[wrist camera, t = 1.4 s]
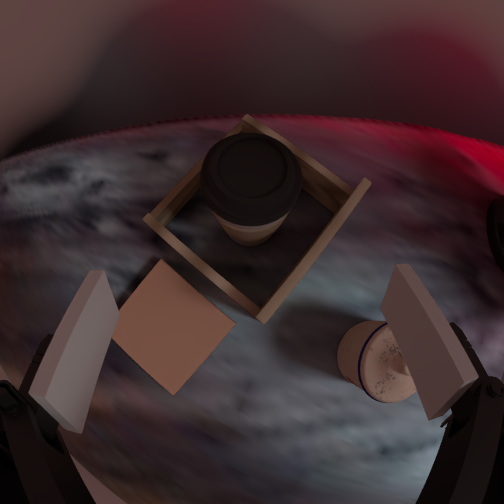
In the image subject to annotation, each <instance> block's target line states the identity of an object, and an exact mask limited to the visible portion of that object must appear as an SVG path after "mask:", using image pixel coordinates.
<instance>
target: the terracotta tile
mask: <svg viewBox="0 0 504 504" xmlns="http://www.w3.org/2000/svg"><path fill="white" fill-rule="evenodd" d="M119 313H120V316H119V319H118V321H117V324H116V327H115V329H114V332H113V335H112V339H113V340H114V341H115V342H116V343H117V344H118V345H119V346H120V347H121V348H122V349H123V350H124V351H125V352H126V353H127V354H128V355H129V356H130V357H131V358H132V359H133V360H134V361H135V362H137V363H138V364H139V365H140V366H141V367H142V368H143V369H144V370H145V371H146V372H147V373H148V374H149V375H150V376H152V377H153V378H154V379H155V380H156V381H157V382H158V383H159V384H161V385H162V386H163V387H164V388H165V389H166V390H167V391H169V392H170V393H171V394H172V395H173V396H174V395H175V394H176V392H177V391H178V390H179V389H180V388H181V387H182V386H183V385H184V383H185V382H186V381H187V380H188V379H189V378H190V377H191V375H192V374H193V373H194V372H195V371H196V370H197V369H198V367H199V366H200V365H201V364H202V363H203V362H204V361H205V359H206V358H207V357H208V356H209V355H210V354H211V352H212V351H213V350H214V349H215V348H216V347H217V346H218V344H219V343H220V342H221V341H222V340H223V338H224V337H225V336H226V335H227V334H228V333H229V331H230V330H231V329H232V328H233V327H234V326H235V324H236V322H234V321H233V320H232V319H231V318H229V317H228V316H227V315H226V314H225V313H223V312H222V311H221V310H220V309H219V308H218V307H216V306H215V305H214V304H213V303H212V302H210V301H209V300H208V299H207V298H206V297H205V296H203V295H202V294H201V293H200V292H199V291H198V290H197V289H195V288H194V287H193V286H192V285H191V284H190V283H189V282H187V281H186V280H185V279H184V278H183V277H182V276H181V275H180V274H178V273H177V272H176V271H175V270H174V269H173V268H172V267H171V266H170V265H168V264H167V263H166V262H165V261H164V260H162V259H160V261H159V262H158V263H157V264H156V265H155V267H154V268H153V269H152V270H151V271H150V273H149V274H148V275H147V276H146V277H145V279H144V280H143V281H142V282H141V284H140V285H139V286H138V287H137V289H136V290H135V291H134V292H133V293H132V295H131V296H130V297H129V298H128V300H127V301H126V302H125V304H124V305H123V306H122V307H121V309H120V310H119Z"/></svg>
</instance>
